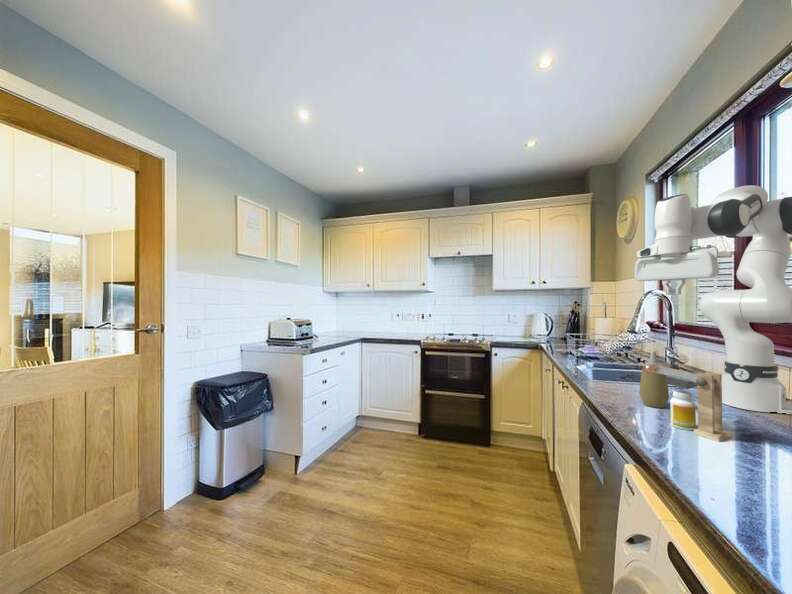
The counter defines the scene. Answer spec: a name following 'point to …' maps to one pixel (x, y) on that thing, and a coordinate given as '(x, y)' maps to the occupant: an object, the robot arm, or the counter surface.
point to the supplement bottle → (682, 411)
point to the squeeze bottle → (653, 386)
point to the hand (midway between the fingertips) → (673, 294)
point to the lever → (673, 375)
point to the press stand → (710, 407)
